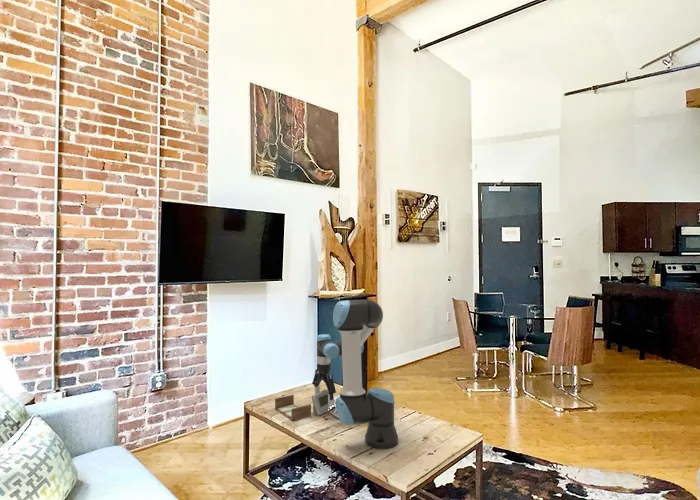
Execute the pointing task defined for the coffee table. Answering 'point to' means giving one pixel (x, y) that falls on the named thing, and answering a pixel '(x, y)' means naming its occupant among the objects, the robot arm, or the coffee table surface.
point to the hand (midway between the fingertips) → (323, 401)
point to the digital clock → (320, 402)
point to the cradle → (291, 408)
